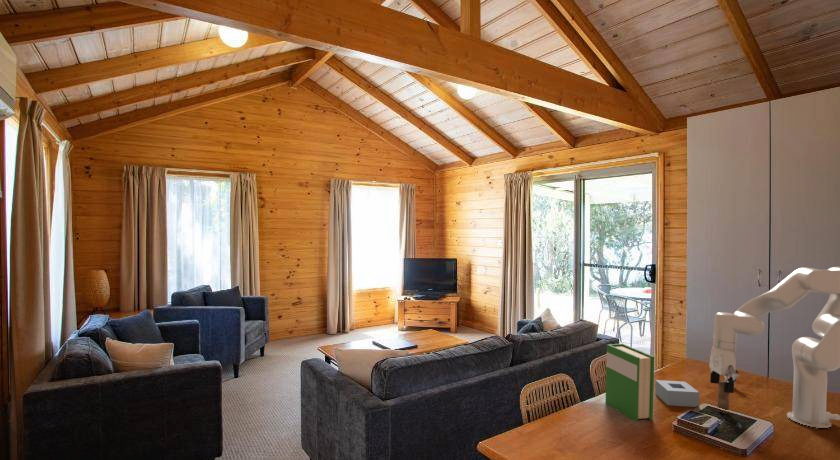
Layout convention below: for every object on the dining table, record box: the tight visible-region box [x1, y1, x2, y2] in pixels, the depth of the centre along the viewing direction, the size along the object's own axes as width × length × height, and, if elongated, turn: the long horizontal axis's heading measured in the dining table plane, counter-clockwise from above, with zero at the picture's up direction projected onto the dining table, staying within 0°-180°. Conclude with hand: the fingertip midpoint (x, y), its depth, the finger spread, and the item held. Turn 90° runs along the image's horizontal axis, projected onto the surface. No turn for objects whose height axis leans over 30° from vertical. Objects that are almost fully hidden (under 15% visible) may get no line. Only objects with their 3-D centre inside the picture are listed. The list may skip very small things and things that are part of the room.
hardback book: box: [605, 343, 655, 423], centre depth 175 cm, size 18×7×24 cm, turn 13°
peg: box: [717, 380, 730, 411], centre depth 175 cm, size 4×4×12 cm
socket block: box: [654, 379, 700, 408], centre depth 186 cm, size 12×12×6 cm
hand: (721, 387), depth 175 cm, fingers open, 9 cm apart
